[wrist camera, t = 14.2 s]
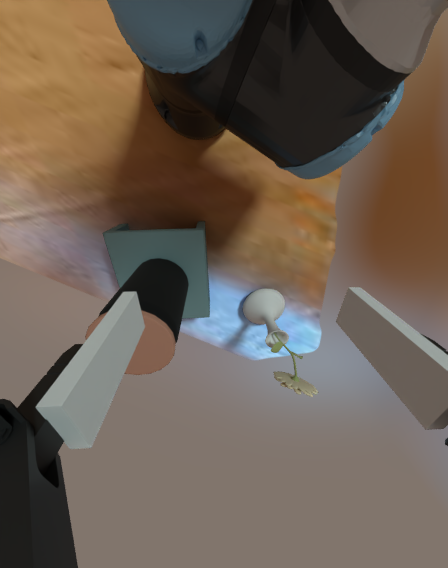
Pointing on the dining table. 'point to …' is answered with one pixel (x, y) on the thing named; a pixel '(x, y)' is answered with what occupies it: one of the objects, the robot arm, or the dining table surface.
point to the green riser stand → (167, 245)
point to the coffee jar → (154, 312)
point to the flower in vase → (275, 333)
